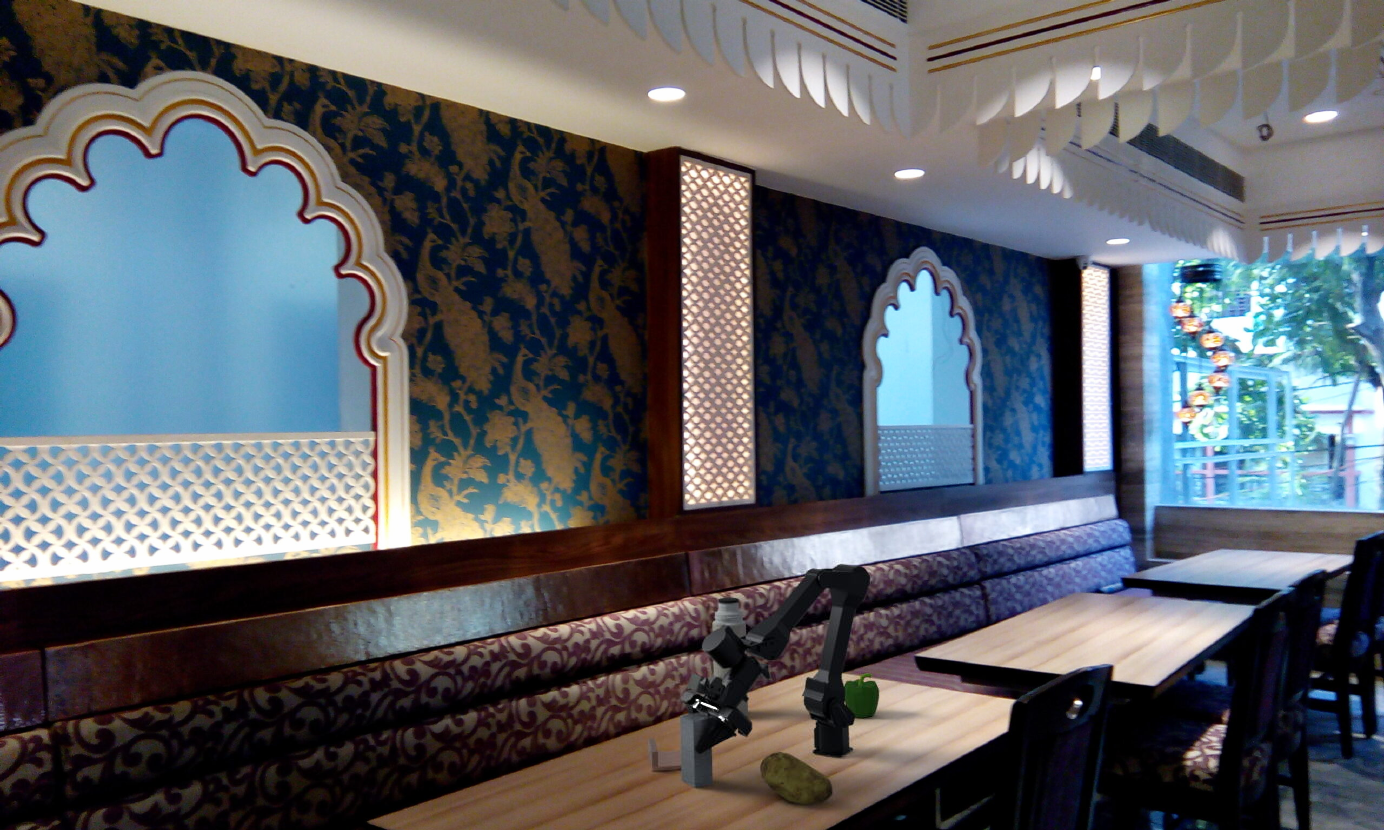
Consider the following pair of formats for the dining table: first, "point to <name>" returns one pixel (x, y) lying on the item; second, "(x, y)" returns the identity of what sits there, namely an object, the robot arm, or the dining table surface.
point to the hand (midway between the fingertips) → (690, 748)
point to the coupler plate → (663, 758)
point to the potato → (795, 779)
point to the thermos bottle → (734, 620)
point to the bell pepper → (862, 696)
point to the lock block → (692, 763)
